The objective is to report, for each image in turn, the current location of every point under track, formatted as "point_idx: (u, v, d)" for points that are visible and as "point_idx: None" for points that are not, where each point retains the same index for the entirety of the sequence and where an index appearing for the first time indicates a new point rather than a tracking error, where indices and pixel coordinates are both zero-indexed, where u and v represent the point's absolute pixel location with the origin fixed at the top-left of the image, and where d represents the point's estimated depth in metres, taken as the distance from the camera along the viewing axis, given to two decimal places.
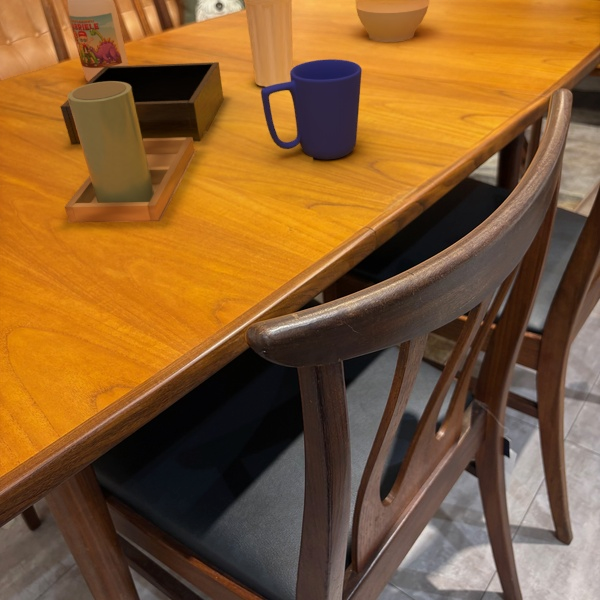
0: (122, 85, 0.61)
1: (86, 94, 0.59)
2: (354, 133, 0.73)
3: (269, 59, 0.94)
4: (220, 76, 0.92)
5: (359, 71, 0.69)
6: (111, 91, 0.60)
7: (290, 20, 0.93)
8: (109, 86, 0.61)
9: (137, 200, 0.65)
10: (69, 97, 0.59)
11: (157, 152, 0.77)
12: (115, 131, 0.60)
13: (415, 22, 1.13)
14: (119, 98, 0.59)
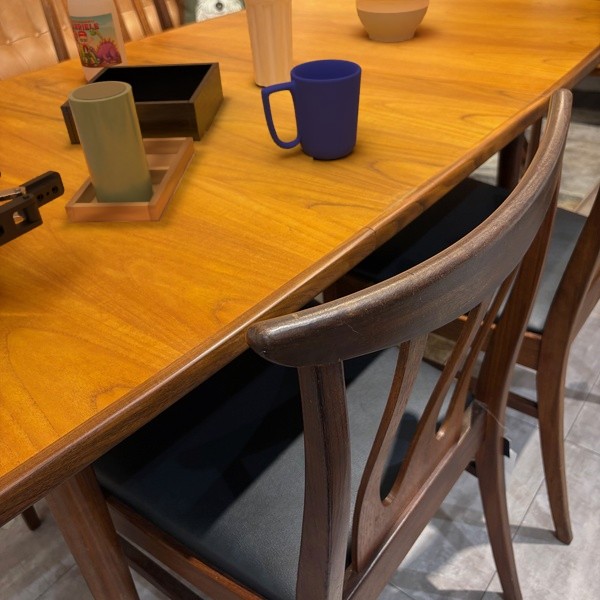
0: (122, 85, 0.61)
1: (86, 94, 0.59)
2: (354, 133, 0.73)
3: (269, 59, 0.94)
4: (220, 76, 0.92)
5: (359, 71, 0.69)
6: (111, 91, 0.60)
7: (290, 20, 0.93)
8: (109, 86, 0.61)
9: (137, 200, 0.65)
10: (69, 97, 0.59)
11: (157, 152, 0.77)
12: (115, 131, 0.60)
13: (415, 22, 1.13)
14: (119, 98, 0.59)
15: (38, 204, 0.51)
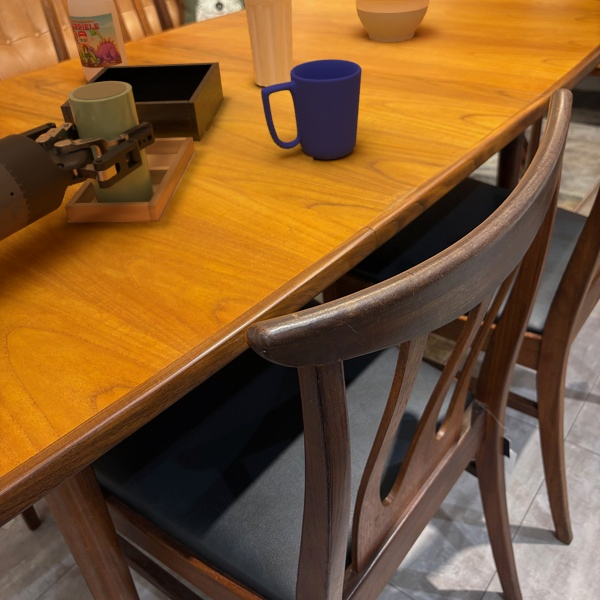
0: (122, 85, 0.61)
1: (86, 94, 0.59)
2: (354, 133, 0.73)
3: (269, 59, 0.94)
4: (220, 76, 0.92)
5: (359, 71, 0.69)
6: (111, 91, 0.60)
7: (290, 20, 0.93)
8: (109, 86, 0.61)
9: (137, 200, 0.65)
10: (69, 97, 0.59)
11: (157, 152, 0.77)
12: (115, 131, 0.60)
13: (415, 22, 1.13)
14: (119, 98, 0.59)
15: None
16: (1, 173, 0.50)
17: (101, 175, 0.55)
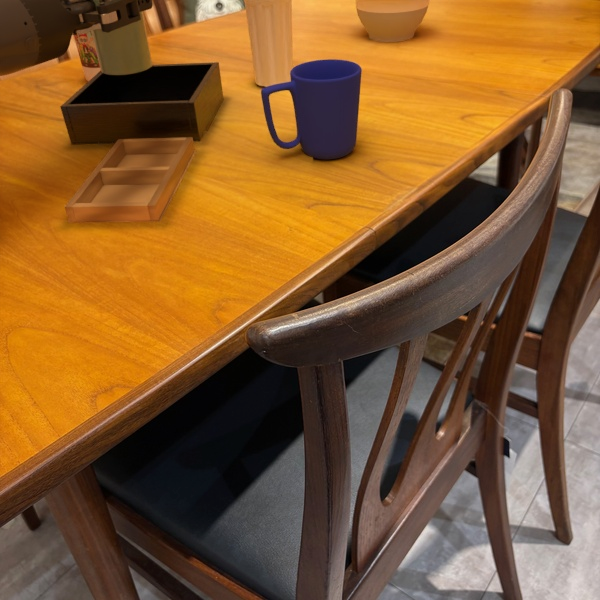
0: None
1: None
2: (354, 133, 0.73)
3: (269, 59, 0.94)
4: (220, 76, 0.92)
5: (359, 71, 0.69)
6: None
7: (290, 20, 0.93)
8: None
9: (136, 62, 0.72)
10: None
11: (157, 152, 0.77)
12: None
13: (415, 22, 1.13)
14: None
15: None
16: (16, 4, 0.57)
17: (104, 18, 0.62)
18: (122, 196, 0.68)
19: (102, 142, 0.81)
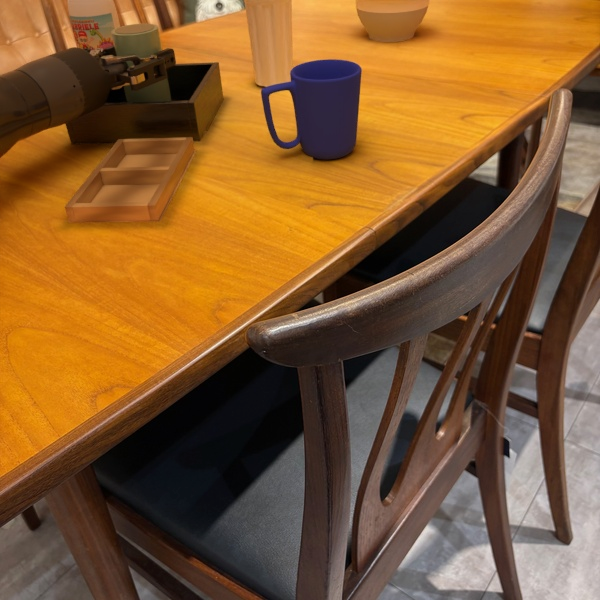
0: (151, 25, 0.82)
1: (125, 31, 0.80)
2: (354, 133, 0.73)
3: (269, 59, 0.94)
4: (220, 76, 0.92)
5: (359, 71, 0.69)
6: (143, 29, 0.80)
7: (290, 20, 0.93)
8: (141, 26, 0.82)
9: None
10: (112, 33, 0.80)
11: (157, 152, 0.77)
12: None
13: (415, 22, 1.13)
14: (150, 33, 0.79)
15: None
16: (67, 70, 0.70)
17: (132, 79, 0.74)
18: (122, 196, 0.68)
19: (102, 142, 0.81)
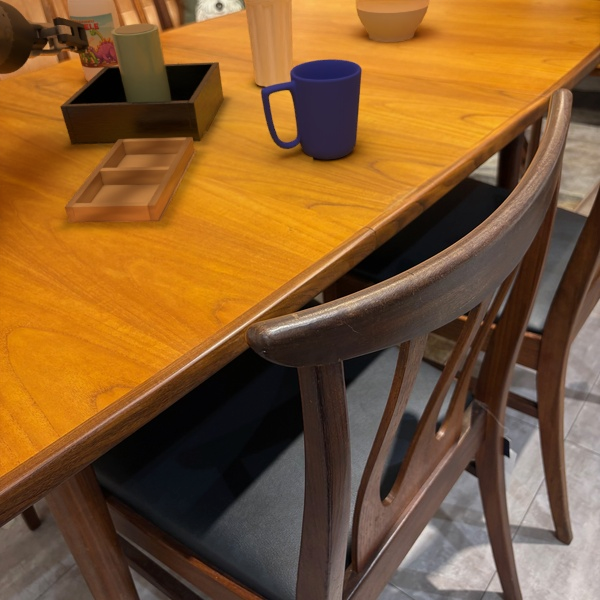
0: (151, 25, 0.82)
1: (125, 31, 0.80)
2: (354, 133, 0.73)
3: (269, 59, 0.94)
4: (220, 76, 0.92)
5: (359, 71, 0.69)
6: (143, 29, 0.80)
7: (290, 20, 0.93)
8: (141, 26, 0.82)
9: None
10: (112, 33, 0.80)
11: (157, 152, 0.77)
12: (146, 59, 0.80)
13: (415, 22, 1.13)
14: (150, 33, 0.79)
15: None
16: None
17: (61, 28, 0.68)
18: (122, 196, 0.68)
19: (102, 142, 0.81)
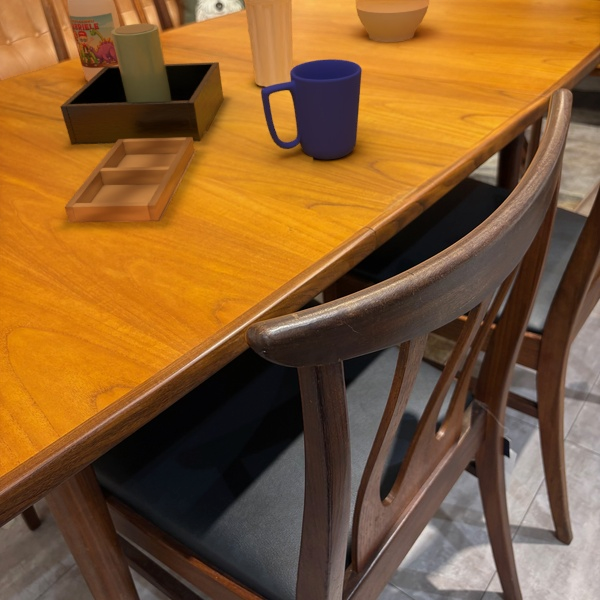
0: (151, 25, 0.82)
1: (125, 31, 0.80)
2: (354, 133, 0.73)
3: (269, 59, 0.94)
4: (220, 76, 0.92)
5: (359, 71, 0.69)
6: (143, 29, 0.80)
7: (290, 20, 0.93)
8: (141, 26, 0.82)
9: None
10: (112, 33, 0.80)
11: (157, 152, 0.77)
12: (146, 59, 0.80)
13: (415, 22, 1.13)
14: (150, 33, 0.79)
15: None
16: None
17: None
18: (122, 196, 0.68)
19: (102, 142, 0.81)
